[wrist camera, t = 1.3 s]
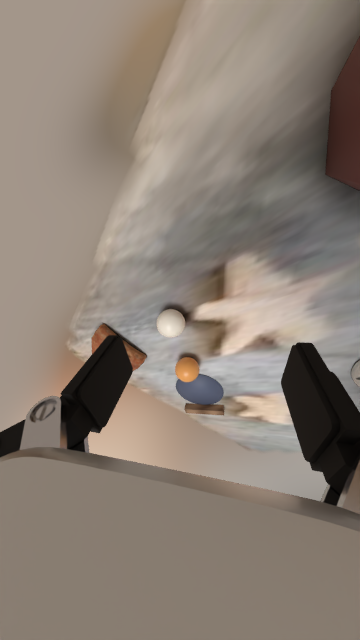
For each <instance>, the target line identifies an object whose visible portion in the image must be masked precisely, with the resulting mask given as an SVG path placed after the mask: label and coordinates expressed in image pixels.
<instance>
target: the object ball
mask: <svg viewBox="0 0 360 640" xmlns="http://www.w3.org/2000/svg"><path fill="white" fill-rule="evenodd" d="M175 372H176V375H177V377H178V378H179V379H180V380H181V381H183V382H191V381H194V380H195V379H196V378H197V376H198V374H199V365H198V363H197V362H196V361H195V360H194V359H193V358H190V357H185V358H182V359H180V360H179V361H178V362H177V364H176V367H175Z"/></svg>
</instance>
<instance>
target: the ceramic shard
mask: <svg viewBox="0 0 360 640" xmlns="http://www.w3.org/2000/svg"><path fill="white" fill-rule="evenodd" d="M108 335H116V334H115V333H114V332H113V331H112V330H110V329H109V328H108V327H107V326H106V325H105V324H103V325H101V326H100V327H99V328H98V329H97V330H96V332H95V334H94V335H93V337H92V354H93V353H94V352H95V350H96V349H97V348H98V347H99V346H100V344H101V343H102V342H103V341H104V339H105V338H106V337H107V336H108ZM123 343H124V346H125V348H126V351H127V354H128V356H129V359H130V362H131V364H132V367H133V370H136V369H137V368H139V367H140V365H141V364H143V362H144V361H145V359H146V356H147V355H145V354H143V353H141V352H140V351H138V350H136V349H135V348H133V347H132V346H131V345H129V344H128V343H127V342H125V341H123Z"/></svg>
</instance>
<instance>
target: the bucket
mask: <svg viewBox="0 0 360 640" xmlns="http://www.w3.org/2000/svg"><path fill="white" fill-rule="evenodd" d="M325 174H326V175H328V176H330V177H332V178H334V179H336V180H338V181H340V182H342V183H345V184H347V185H349V186H351V187H353V188H355V189H357V190H359V191H360V37H359V39H358V41H357V42H356V44H355V46H354V48H353V50H352V52H351V54H350V56H349V58H348V60H347V62H346V64H345V65H344V67H343V69H342V71H341V73H340V75H339V77H338V79H337V81H336V83H335V85H334V87H333V88H332V90H331V102H330V116H329V130H328V145H327V159H326V173H325Z"/></svg>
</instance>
